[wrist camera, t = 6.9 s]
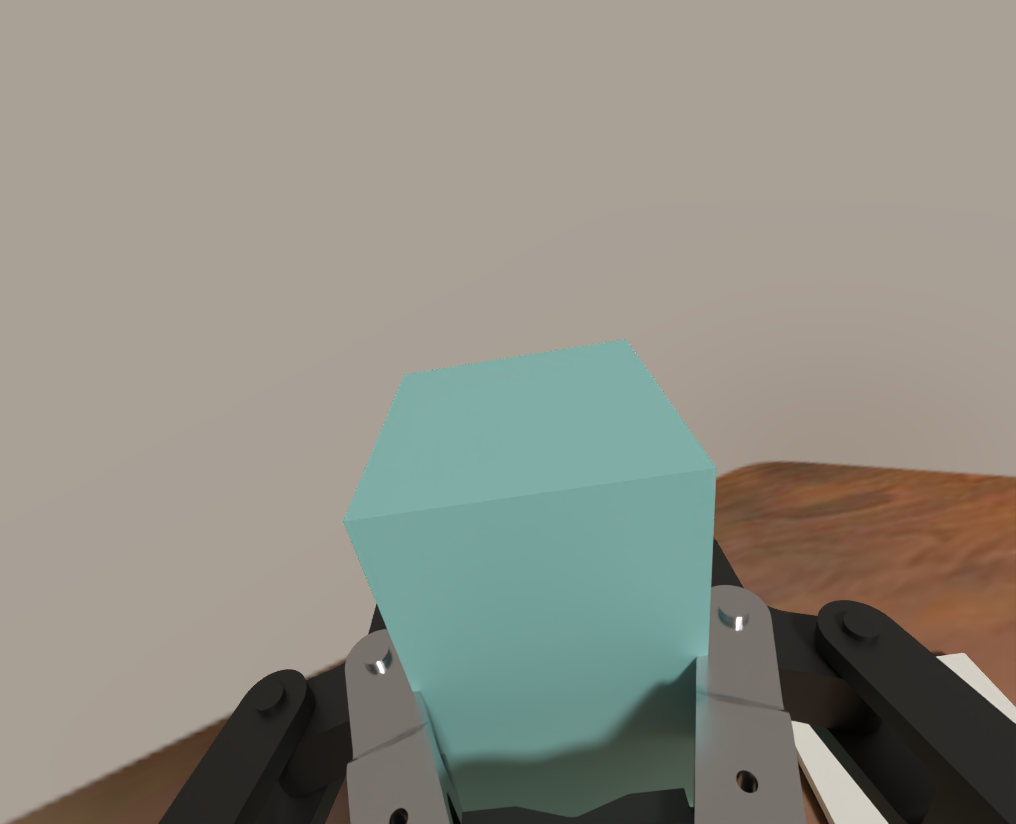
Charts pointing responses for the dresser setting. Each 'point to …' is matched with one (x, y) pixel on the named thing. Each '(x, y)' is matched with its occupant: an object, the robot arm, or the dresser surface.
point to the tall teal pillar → (544, 573)
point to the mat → (830, 782)
